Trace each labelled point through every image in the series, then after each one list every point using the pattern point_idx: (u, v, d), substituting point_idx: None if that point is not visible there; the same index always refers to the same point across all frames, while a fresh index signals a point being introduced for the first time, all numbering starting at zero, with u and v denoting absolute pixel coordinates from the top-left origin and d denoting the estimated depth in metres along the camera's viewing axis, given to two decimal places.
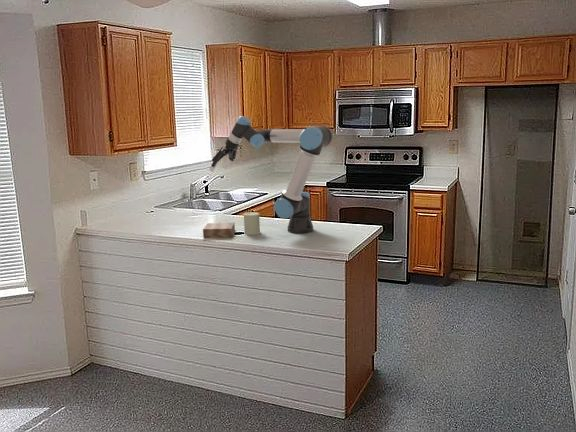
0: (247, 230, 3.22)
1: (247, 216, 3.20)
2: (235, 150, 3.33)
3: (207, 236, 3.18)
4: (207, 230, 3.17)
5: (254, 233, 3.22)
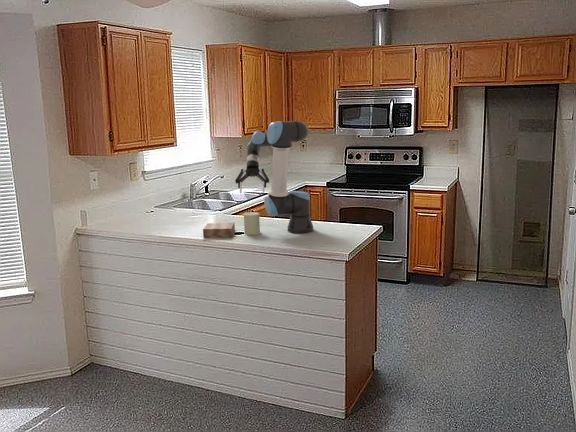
0: (247, 230, 3.22)
1: (247, 216, 3.20)
2: (262, 171, 3.39)
3: (207, 236, 3.18)
4: (207, 230, 3.17)
5: (254, 233, 3.22)
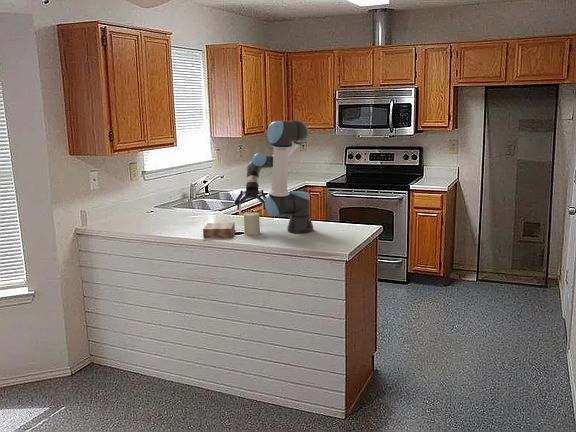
0: (247, 230, 3.22)
1: (247, 216, 3.20)
2: (261, 192, 3.37)
3: (207, 236, 3.18)
4: (207, 230, 3.17)
5: (254, 233, 3.22)
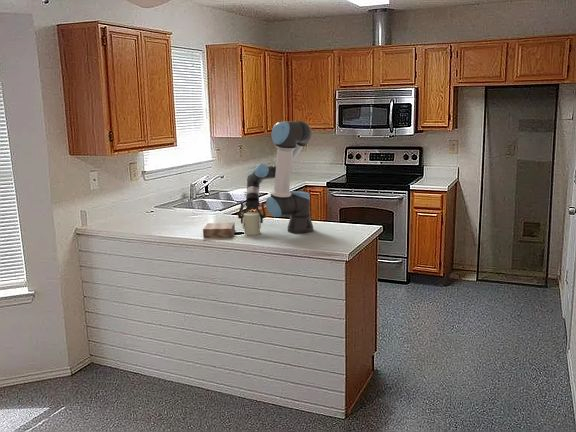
0: (247, 230, 3.22)
1: (247, 216, 3.20)
2: (261, 205, 3.30)
3: (207, 236, 3.18)
4: (207, 230, 3.17)
5: (254, 233, 3.22)
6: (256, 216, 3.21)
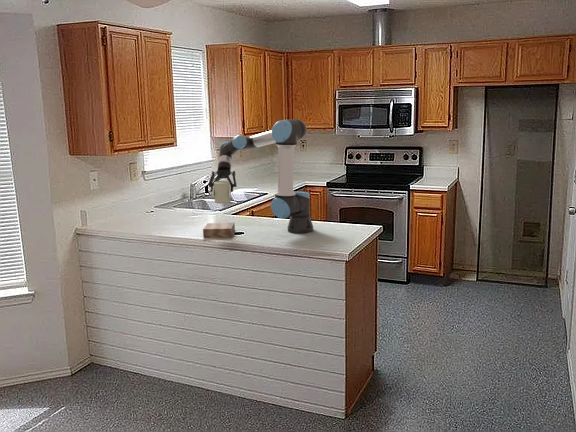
0: (217, 198, 3.20)
1: (217, 184, 3.18)
2: (232, 174, 3.27)
3: (207, 236, 3.18)
4: (207, 230, 3.17)
5: (224, 202, 3.20)
6: (226, 184, 3.19)
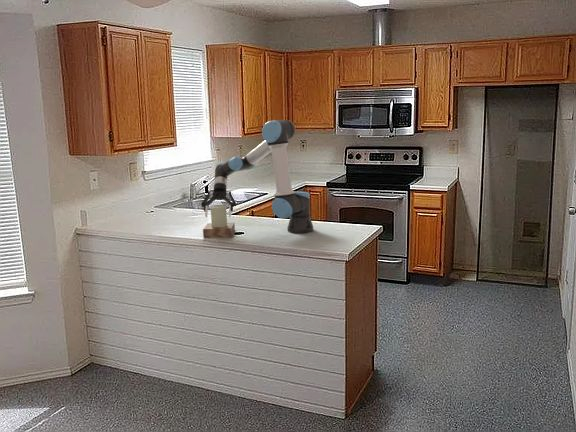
0: (214, 222, 3.21)
1: (213, 208, 3.19)
2: (229, 194, 3.28)
3: (207, 236, 3.18)
4: (207, 230, 3.17)
5: (221, 225, 3.21)
6: (223, 208, 3.20)
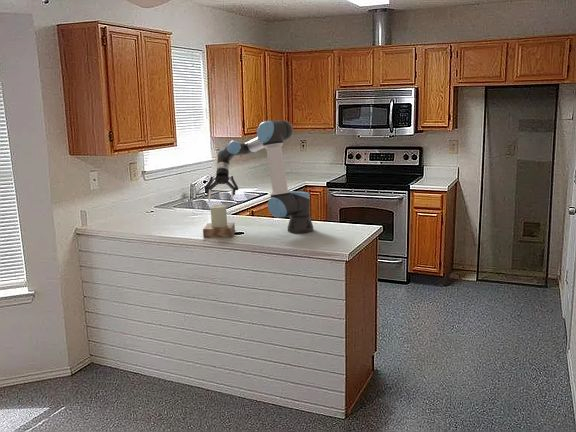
0: (214, 222, 3.21)
1: (213, 208, 3.19)
2: (231, 178, 3.40)
3: (207, 236, 3.18)
4: (207, 230, 3.17)
5: (221, 225, 3.21)
6: (223, 208, 3.20)
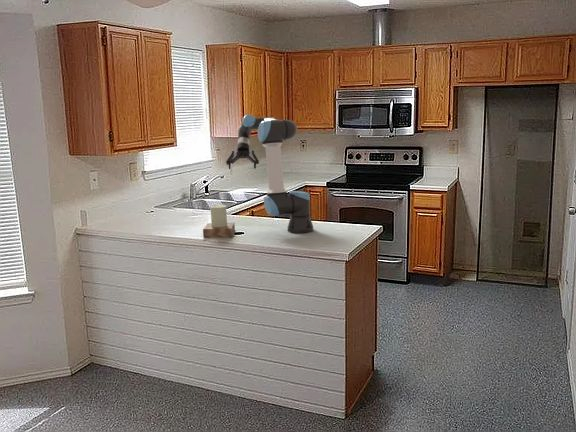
0: (214, 222, 3.21)
1: (213, 208, 3.19)
2: (252, 153, 3.50)
3: (207, 236, 3.18)
4: (207, 230, 3.17)
5: (221, 225, 3.21)
6: (223, 208, 3.20)
